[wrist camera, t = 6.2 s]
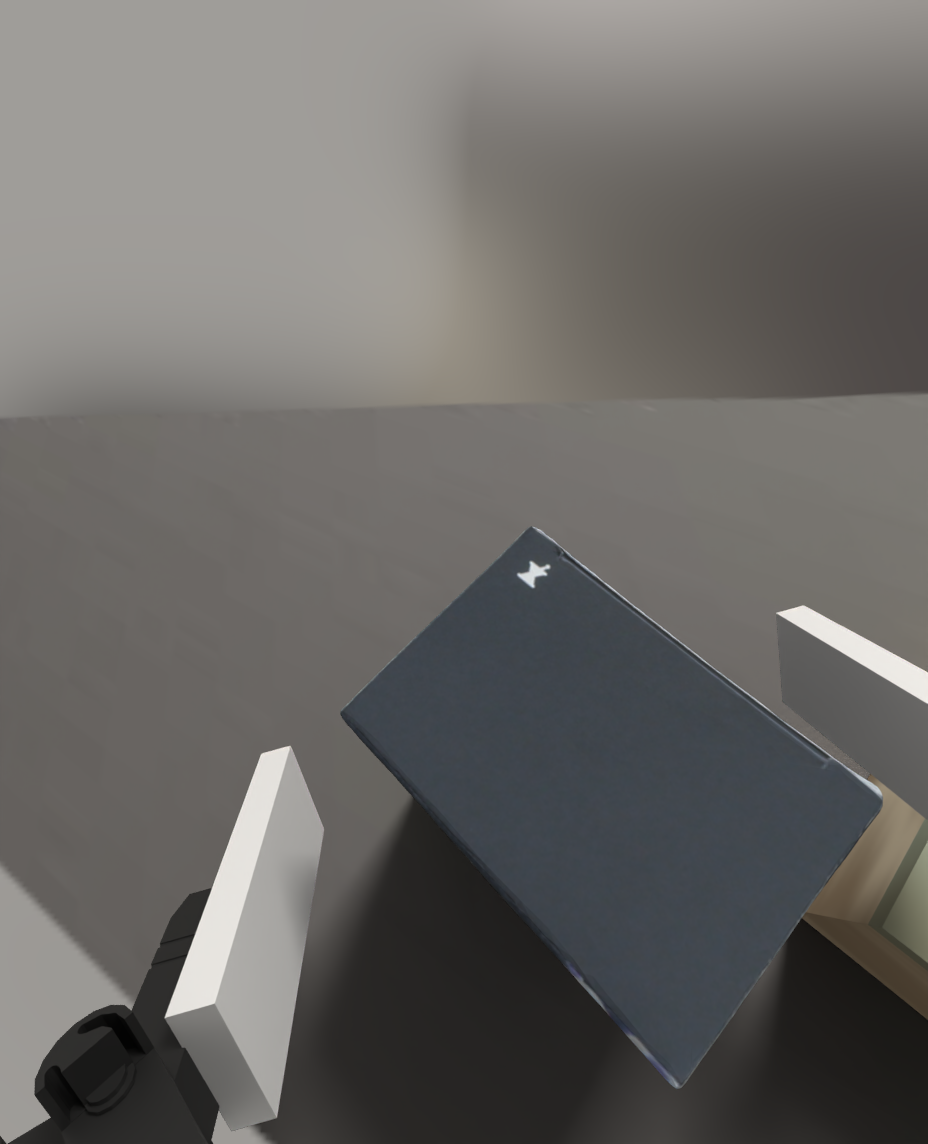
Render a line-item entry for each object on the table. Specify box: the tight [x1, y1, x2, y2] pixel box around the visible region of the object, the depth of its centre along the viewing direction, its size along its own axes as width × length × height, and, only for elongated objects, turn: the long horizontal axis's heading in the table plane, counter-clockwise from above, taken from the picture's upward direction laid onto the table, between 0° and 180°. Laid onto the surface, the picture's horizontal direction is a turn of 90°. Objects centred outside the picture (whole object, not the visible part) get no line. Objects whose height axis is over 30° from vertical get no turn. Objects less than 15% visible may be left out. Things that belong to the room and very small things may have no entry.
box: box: [340, 526, 883, 1089], centre depth 15 cm, size 8×6×11 cm
